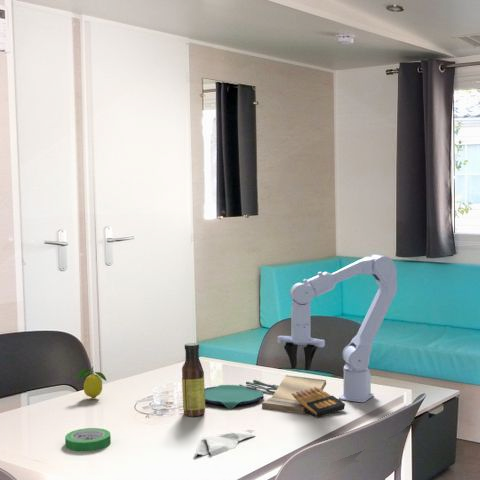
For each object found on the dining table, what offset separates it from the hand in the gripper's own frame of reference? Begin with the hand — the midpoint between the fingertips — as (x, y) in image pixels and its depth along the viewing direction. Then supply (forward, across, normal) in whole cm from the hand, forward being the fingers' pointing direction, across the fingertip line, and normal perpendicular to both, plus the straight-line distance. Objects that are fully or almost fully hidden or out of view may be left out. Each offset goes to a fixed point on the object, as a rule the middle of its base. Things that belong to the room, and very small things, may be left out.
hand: (300, 368), depth 233 cm
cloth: (+10, -2, -45) cm, 46 cm away
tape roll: (+10, -31, -61) cm, 69 cm away
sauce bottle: (+10, -21, -27) cm, 36 cm away
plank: (+7, 0, -1) cm, 7 cm away
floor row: (+9, 0, -10) cm, 14 cm away
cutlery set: (+10, -18, -4) cm, 21 cm away
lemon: (+10, -56, -28) cm, 63 cm away
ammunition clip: (+8, +14, -10) cm, 19 cm away
